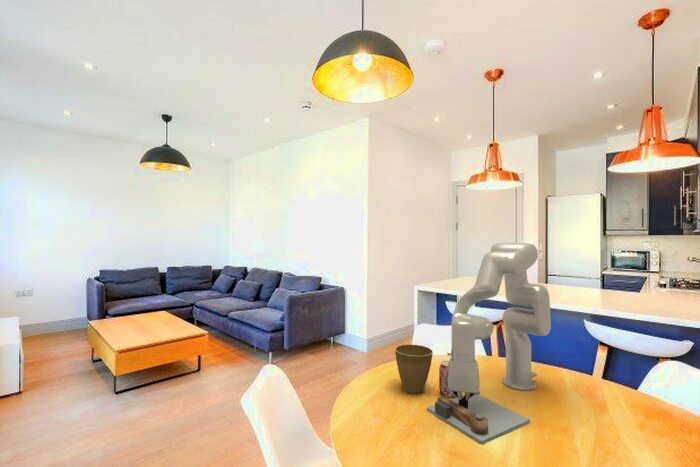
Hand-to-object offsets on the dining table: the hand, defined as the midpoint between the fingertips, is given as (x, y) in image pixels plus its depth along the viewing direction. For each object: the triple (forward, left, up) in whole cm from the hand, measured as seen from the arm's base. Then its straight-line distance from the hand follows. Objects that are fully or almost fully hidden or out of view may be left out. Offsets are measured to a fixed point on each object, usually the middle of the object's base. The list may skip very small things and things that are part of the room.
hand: (463, 409), depth 116 cm
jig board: (-4, +2, -2) cm, 5 cm away
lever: (+4, +2, -1) cm, 5 cm away
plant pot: (+1, -24, -2) cm, 24 cm away
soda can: (-8, -14, -2) cm, 17 cm away
